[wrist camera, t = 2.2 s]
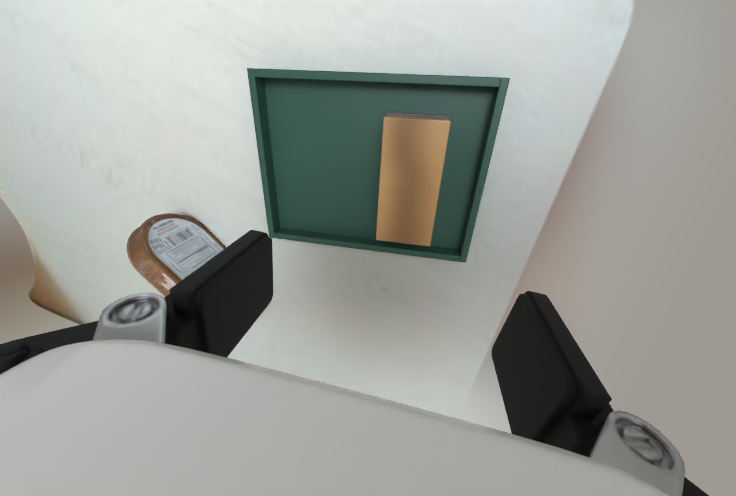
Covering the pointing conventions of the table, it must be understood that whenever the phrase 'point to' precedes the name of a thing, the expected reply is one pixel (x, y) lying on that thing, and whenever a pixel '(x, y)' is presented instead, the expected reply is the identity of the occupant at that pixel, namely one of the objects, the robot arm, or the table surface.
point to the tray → (366, 152)
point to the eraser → (410, 175)
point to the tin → (170, 249)
